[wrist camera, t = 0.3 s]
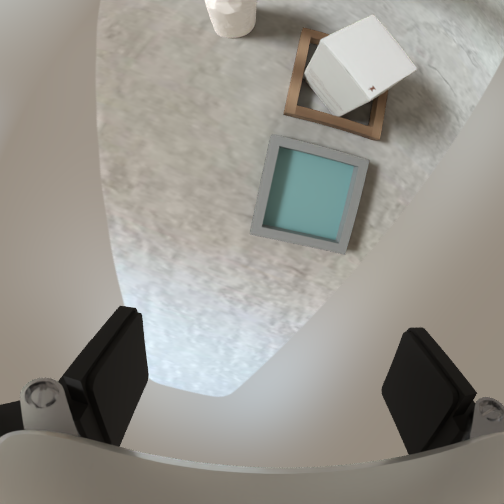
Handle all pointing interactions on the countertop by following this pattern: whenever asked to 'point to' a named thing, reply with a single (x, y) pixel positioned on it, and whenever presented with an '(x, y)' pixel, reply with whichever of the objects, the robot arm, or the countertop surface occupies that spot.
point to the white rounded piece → (232, 16)
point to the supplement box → (356, 65)
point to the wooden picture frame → (320, 117)
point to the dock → (308, 194)
